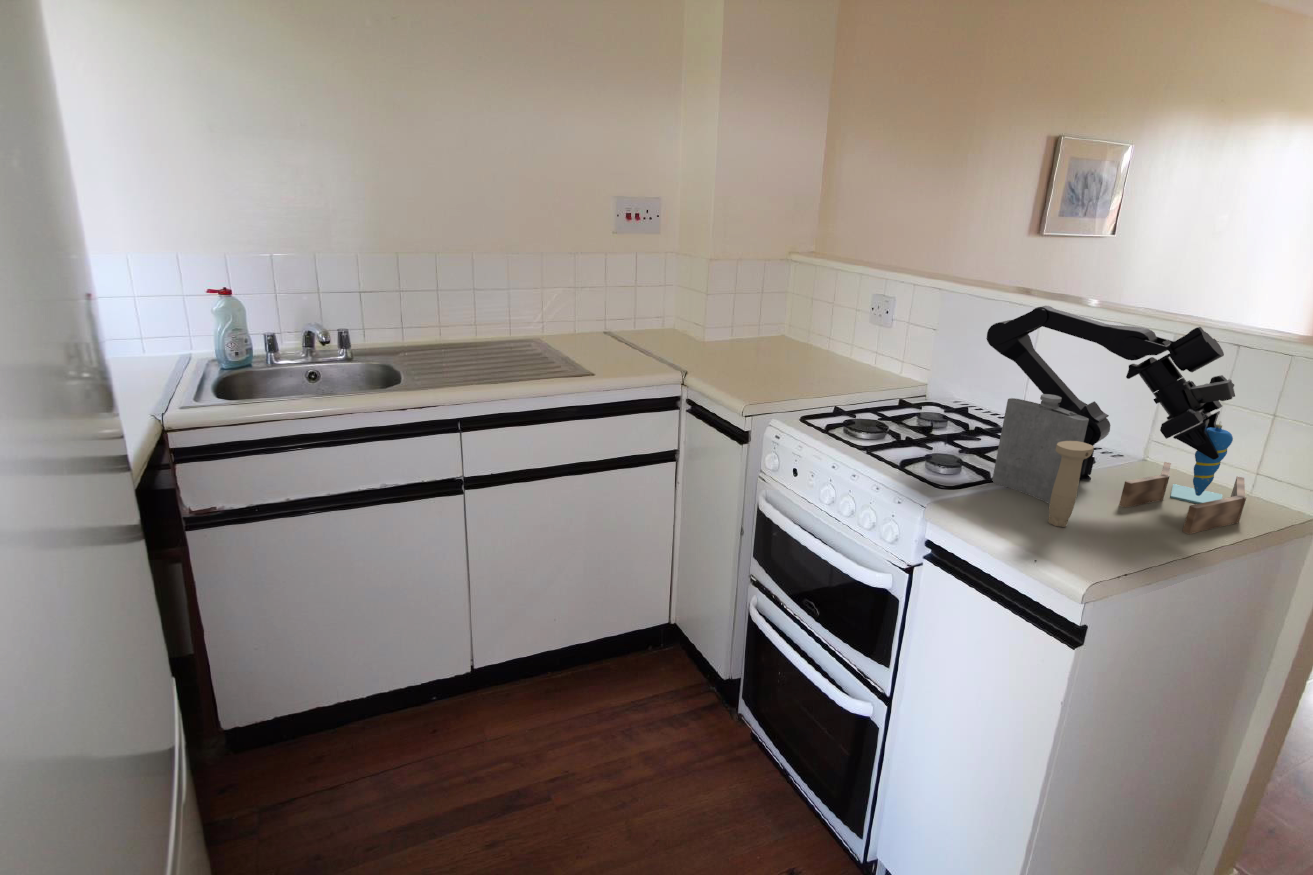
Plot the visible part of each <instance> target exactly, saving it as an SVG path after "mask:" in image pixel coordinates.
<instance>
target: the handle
mask: <svg viewBox="0 0 1313 875" xmlns="http://www.w3.org/2000/svg"><path fill="white" fill-rule="evenodd" d="M1093 450H1095V445H1093V446H1092V445H1090V444H1087V443H1084V442H1079V441H1062V442H1059V443H1057V445H1056V452H1057V453H1058V454H1060V455H1061V456H1062V458H1061V463H1060V466H1059V470H1058V473H1057V477H1056V480H1055V483H1054V487H1053V490H1052V494H1051V499H1050V504H1049V506H1048V507H1049V508H1048V514H1049V516H1048V524H1050V525H1053V526H1054V527H1061V528H1065V527H1067V525H1068V523H1069V519H1070V518H1071V516H1072V513H1073V511H1074V507H1075V504H1076V500H1077V496H1078V490H1079V483H1080V479H1079V478H1080V472H1081V467H1082V462H1083V460H1084V459H1086V458H1088V457H1089V456H1091V454H1092V453H1093ZM1093 454H1094V453H1093Z"/></svg>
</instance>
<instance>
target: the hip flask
mask: <svg viewBox="0 0 1313 875" xmlns="http://www.w3.org/2000/svg"><path fill="white" fill-rule="evenodd" d="M1061 399H1062V398H1061V397H1059V396H1056V395H1051V394H1043V393H1041V394H1040V399H1039V400H1040V403H1038V402H1034V401H1030V400H1025V399H1021V398H1013V397H1011V398H1007V402H1006V406H1005V412H1004V417H1003V422H1002V428H1001V432H1000V437H999V441H998V442H999V444H998V449H997V453H996V458H995V463H994V468H993V474H992V479H991V482H992V481H993V482H992V483H994V484H996V485H999V486H1002V487H1006V488H1008V489H1012V490H1014V491H1017V492H1021V493H1022V494H1025V495H1028V496H1031V497H1033V498H1036V499H1038V500H1041V501H1043V502H1046V503H1048V504H1049V505H1050V499H1051V494H1052V490H1053V487H1054V483H1055V480H1056V477H1057V473H1058V470H1059V466H1060V463H1061V458H1062V456H1061V455H1060V454H1058V453H1057V452H1056V445H1057V443H1059V442H1062V441H1079V442H1084V438H1085V434H1086V430H1087V425H1088V421H1089V419H1088V418H1087V417H1084V416H1081V415H1078V414H1076V413H1074V412H1071V411H1068V410H1066V409H1063V408H1060V407H1059V404H1058V403H1060V402H1061Z"/></svg>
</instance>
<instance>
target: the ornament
mask: <svg viewBox="0 0 1313 875" xmlns="http://www.w3.org/2000/svg"><path fill="white" fill-rule="evenodd" d="M1207 433H1208V435H1209V437H1210V438H1211V440H1212V442H1213V444H1214V446H1215V448H1216V450H1217V452H1218V454H1219V458H1217V459H1214V460H1213V459H1211V458H1209V457H1208V456H1206V455H1204V454H1203V453H1201V452H1199V451H1197V450H1195V452H1194V460H1195V464H1194V466H1193V478H1192V484H1193V487H1194V488H1195V494H1196V495H1197V496H1200V495H1201V494H1202V493H1203V492H1204V491H1206V489H1208V487H1209V486H1210V485H1211V483H1212V482H1213V480H1214V478H1215V474H1216V473H1217V471H1218V470H1219V468H1220V466H1221V461H1223V460H1224V458H1225V457H1226V455H1227V454H1228V449H1229V447H1230V446H1231V445H1232V443H1233V442H1234V440H1233V439H1234V438H1233V434H1232V433H1231V432H1230V431H1228V430H1226V429H1224V428H1223V425H1222V421H1221V420H1220V421H1219V424H1218V423H1216V428H1213V427H1210V428H1207Z"/></svg>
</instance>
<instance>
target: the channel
mask: <svg viewBox="0 0 1313 875" xmlns="http://www.w3.org/2000/svg"><path fill="white" fill-rule="evenodd" d="M1171 465H1172V463H1171V462H1166V461H1164V462H1163V465H1162V469H1161V472H1160V473H1161V474H1158V475H1153V476H1147V477H1141V478H1135V479H1130V480H1129V479H1128V480H1125V481H1124V484H1123V488H1122V492H1121V496H1120V499H1119V504H1118V506H1120V507H1122V508H1124V509H1125V508H1129V507H1135V506H1139V505H1145V504H1149V503H1153V502H1155V503H1156V502H1159V501H1160V502H1162V501H1164V497H1165V495H1166V491H1167V488H1168V484H1169V480H1170V476H1169V474H1170V469H1171ZM1245 485H1246V484H1245V477H1242V476H1236V478H1235V481H1234V485H1233V488H1232V490H1231V495H1230V497H1224V498H1222V499H1219V500H1214V501H1210V502H1205V503H1200V504H1196V503H1194V504H1191V505H1189V507H1188V510H1187V514H1186V517H1185V520H1184V524H1183V528H1182V532H1183V533H1185V534H1188V535H1191V534H1195V533H1199V532H1203V531H1207V530H1208V531H1209V530H1212V529H1213V530H1214V529H1218V528H1221V527H1224V526H1225V527H1226V526H1228V525H1233V524H1234V525H1235V524H1238V523H1240V520H1241V516H1242V514H1243V510H1244V508H1245V504H1246V501H1247V497H1246V489H1245V488H1246V486H1245Z"/></svg>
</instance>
